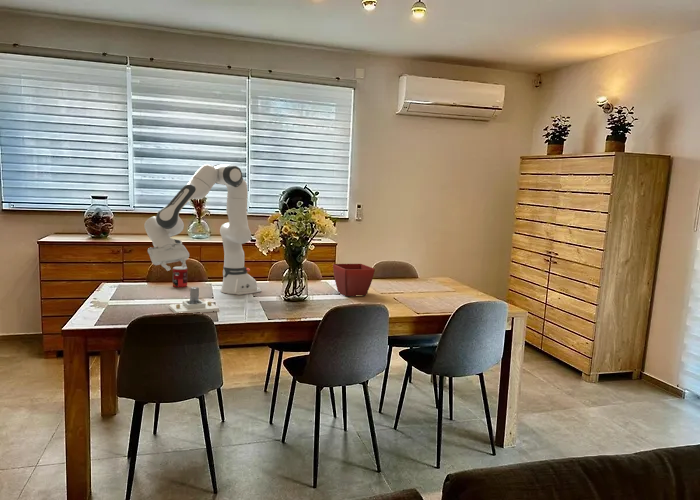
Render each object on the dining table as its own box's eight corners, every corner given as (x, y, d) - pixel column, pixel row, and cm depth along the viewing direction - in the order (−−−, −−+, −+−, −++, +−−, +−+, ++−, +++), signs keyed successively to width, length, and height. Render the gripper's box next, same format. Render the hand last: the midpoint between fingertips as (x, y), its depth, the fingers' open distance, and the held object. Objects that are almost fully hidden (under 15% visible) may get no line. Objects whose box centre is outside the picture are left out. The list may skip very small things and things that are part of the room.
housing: (209, 304, 249) (210, 297, 248) (219, 310, 237) (219, 303, 237) (169, 307, 238) (169, 300, 237) (176, 315, 226) (176, 307, 226)
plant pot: (359, 290, 303) (361, 263, 300) (373, 297, 286) (375, 268, 283) (330, 291, 294) (332, 263, 292) (344, 298, 277) (345, 269, 275)
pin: (197, 304, 240) (197, 286, 239) (199, 306, 237) (200, 288, 236) (188, 305, 238) (189, 287, 237) (191, 307, 235) (191, 289, 233)
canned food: (171, 285, 285) (171, 266, 284) (185, 284, 289) (185, 266, 288) (174, 288, 279) (174, 268, 277) (188, 287, 283) (188, 268, 281)
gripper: (148, 244, 235) (162, 268, 231) (183, 240, 252) (196, 262, 249) (143, 252, 238) (156, 275, 235) (177, 247, 255) (190, 269, 252)
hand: (177, 268), depth 242 cm, fingers open, 8 cm apart
